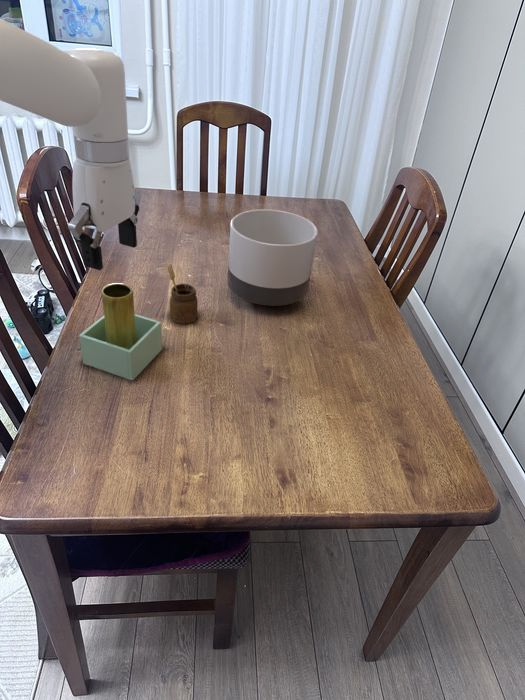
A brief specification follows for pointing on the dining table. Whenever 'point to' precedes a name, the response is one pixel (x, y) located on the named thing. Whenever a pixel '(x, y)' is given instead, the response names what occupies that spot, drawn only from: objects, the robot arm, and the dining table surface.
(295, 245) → the planter
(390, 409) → the dining table surface
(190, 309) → the utensil holder
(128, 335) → the vase
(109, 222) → the robot arm
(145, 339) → the bin
